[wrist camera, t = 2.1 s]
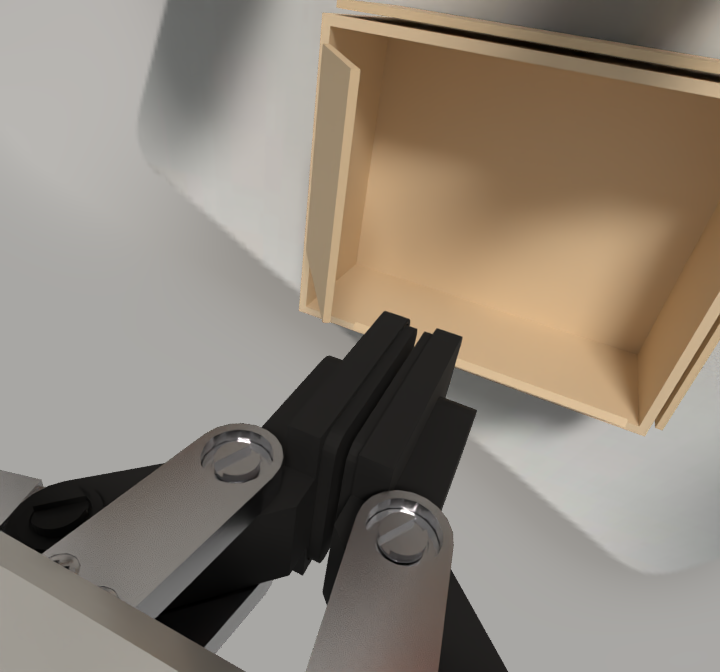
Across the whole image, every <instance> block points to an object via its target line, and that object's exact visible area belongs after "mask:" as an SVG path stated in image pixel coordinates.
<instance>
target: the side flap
mask: <svg viewBox="0 0 720 672" xmlns="http://www.w3.org/2000/svg"><path fill="white" fill-rule="evenodd" d="M369 328H370V327H369V326H366V325H363V324H361V323H358V322H355V325H354V327H353V329H354V330H357V331H359V332H362V333H364V334H365V333H366V332H367V330H368V329H369ZM415 345H416V343H415ZM415 345H414V346H415ZM455 367H456V368H459V369H462V370H464V371H467V372H470V373H473V374H475V375H478V376H481V377H484V378H486V379H489V380H492V381H495V382H497V383H500V384H503V385H506V386H508V387H511V388H514V389H517V390H519V391H522V392H525V393H528V394H530V395H533V396H536V397H539V398H541V399H544V400H547V401H550V402H552V403H555V404H558V405H561V406H563V407H566V408H569V409H572V410H574V411H577V412H580V413H583V414H585V415H588V416H591V417H594V418H597V419H600V420H603V421H606V422H609V423H612V424H615V425H618V426H621V427H624V428H625V427H626V424H627V421H628V419H626V418H623V417H620V416H618V415H615V414H612V413H609V412H606V411H604V410H601V409H598V408H595V407H593V406H590V405H587V404H584V403H581V402H579V401H576V400H573V399H570V398H567V397H565V396H562V395H559V394H556V393H553V392H551V391H548V390H545V389H542V388H539V387H537V386H534V385H531V384H528V383H525V382H523V381H520V380H517V379H514V378H511V377H509V376H506V375H503V374H500V373H497V372H495V371H492V370H489V369H486V368H484V367H481V366H478V365H475V364H472V363H470V362H467V361H464V360H461V359H458V358H457V360H456V363H455Z"/></svg>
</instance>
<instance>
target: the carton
mask: <svg viewBox="0 0 720 672" xmlns="http://www.w3.org/2000/svg"><path fill="white" fill-rule="evenodd" d="M337 8H342V9H348V10H354V11H360V12H365V13H371V14H377V15H383V16H388V17H382V16H366V15H351V14H335V13H322V25H321V38H320V50H319V63H318V76H317V88H316V101H315V114H314V126H313V139H312V152H311V164H310V177H309V190H308V202H307V215H306V228H305V240H304V253H303V266H302V278H301V291H300V303H299V311H301V312H304V313H307V314H309V315H312V316H315V317H318V318H320V319H322V318H321V313H320V309H319V305H318V300H317V296H316V292H315V287H314V283H313V279H312V274H311V270H310V265H309V261H308V257H307V252H306V242H307V230H308V218H309V206H310V193H311V181H312V169H313V157H314V144H315V132H316V120H317V108H318V95H319V83H320V71H321V59H322V46H323V43H325V44H330V45H332V46H333V47H334V48H335V49H336V50H338V51H339V52H340V53H341V54H342V55H344V56H345V57H346V58H347V59H348V60H350V61H351V62H352V63H353V64H354V65H355V66H357V67H358V68H359V69H360V78H359V87H358V95H357V103H356V112H355V120H354V128H353V137H352V145H351V153H350V162H349V170H348V178H347V187H346V195H345V203H344V212H343V220H342V228H341V237H340V245H339V253H338V262H337V270H336V278H335V287H334V295H333V303H332V312H331V320H330V322H331V323H334V324H337V325H340V326H342V327H345V328H348V329H351V330H353V331H356V332H359V331H357V330H354V329H353V327H354V325H355V322H358V323H361V324H363V325H366V326H369V327H371V326H372V324H373V323H374V322H375V321H376V320H377V319H378V317H379V316H380V315H381V314H382V313H383V312H384V311H388V312H391V313H394V314H397V315H400V316H403V317H406V318H409V319H410V326H411V327H414V328H416V329H417V337H416V341H415V343H417V342H418V340H419V339H420V337H421V336H422V334H423V333H424V332H428V333H431V334H433V333H434V331H435V330H436V328H438V329H441V330H444V331H447V332H450V333H453V334H456V335H459V336H462V337H463V338H462V343H461V346H460V350H459V353H458V357H457V358H458V359H461V360H464V361H467V362H470V363H472V364H475V365H478V366H481V367H484V368H486V369H489V370H492V371H495V372H497V373H500V374H503V375H506V376H509V377H511V378H514V379H517V380H520V381H523V382H525V383H528V384H531V385H534V386H537V387H539V388H542V389H545V390H548V391H551V392H553V393H556V394H559V395H562V396H565V397H567V398H570V399H573V400H576V401H579V402H581V403H584V404H587V405H590V406H593V407H595V408H598V409H601V410H604V411H606V412H609V413H612V414H615V415H618V416H620V417H623V418H626V419H628V421H627V424H626V427H625V428H624V427H621V426H618V425H615V424H612V423H609V422H606V421H604V422H606V423H609V424H612V425H615V426H617V427H620V428H623V429H626V430H628V431H631V432H634V433H637V434H639V435H642V436H645V435H646V434H647V432H648V430H649V429H650V427H651V425H652V424H653V422H654V420H655V428H657V429H660V430H663V429H664V427H665V426H666V424H667V422H668V421H669V419H670V418H671V416H672V415H673V413H674V411H675V410H676V408H677V407H678V405H679V403H680V402H681V400H682V399H683V397H684V396H685V394H686V392H687V391H688V389H689V388H690V386H691V384H692V383H693V381H694V380H695V378H696V377H697V375H698V373H699V372H700V370H701V369H702V367H703V365H704V364H705V362H706V361H707V359H708V358H709V356H710V354H711V353H712V351H713V350H714V348H715V346H716V345H717V343H718V342H719V340H720V75H717V74H720V59H714V58H708V57H702V56H696V55H690V54H684V53H678V52H672V51H666V50H660V49H654V48H648V47H642V46H636V45H630V44H624V43H618V42H612V41H606V40H600V39H594V38H588V37H582V36H576V35H570V34H564V33H558V32H552V31H546V30H540V29H534V28H528V27H523V26H517V25H511V24H505V23H499V22H493V21H487V20H481V19H475V18H469V17H463V16H457V15H451V14H445V13H439V12H433V11H427V10H421V9H415V8H409V7H403V6H397V5H389V4H380V3H372V2H363V1H354V0H337ZM391 17H394V18H391ZM397 18H400V19H397ZM402 19H405V20H402ZM408 20H411V21H408ZM414 21H417V22H414ZM420 22H423V23H420ZM425 23H428V24H425ZM431 24H434V25H431ZM437 25H440V26H437ZM442 26H446V27H442ZM448 27H451V28H448ZM454 28H457V29H454ZM460 29H463V30H460ZM465 30H469V31H465ZM471 31H474V32H471ZM477 32H480V33H477ZM483 33H486V34H483ZM488 34H492V35H488ZM494 35H497V36H494ZM500 36H503V37H500ZM505 37H509V38H505ZM511 38H515V39H511ZM517 39H520V40H517ZM523 40H526V41H523ZM528 41H532V42H528ZM534 42H537V43H534ZM540 43H543V44H540ZM546 44H549V45H546ZM551 45H555V46H551ZM557 46H560V47H557ZM563 47H566V48H563ZM568 48H572V49H568ZM574 49H578V50H574ZM580 50H583V51H580ZM586 51H589V52H586ZM591 52H595V53H591ZM597 53H601V54H597ZM603 54H606V55H603ZM609 55H612V56H609ZM614 56H618V57H614ZM620 57H624V58H620ZM626 58H629V59H626ZM632 59H635V60H632ZM637 60H641V61H637ZM643 61H647V62H643ZM649 62H652V63H649ZM654 63H658V64H654ZM660 64H664V65H660ZM666 65H670V66H666ZM672 66H675V67H672ZM677 67H681V68H677ZM683 68H687V69H683ZM689 69H692V70H689ZM695 70H698V71H695ZM700 71H704V72H700ZM706 72H710V73H706ZM712 73H715V74H712ZM359 333H362V332H359ZM362 334H364V333H362ZM455 368H456V367H455ZM458 369H459V368H458ZM461 370H462V369H461ZM463 371H464V370H463ZM466 372H467V371H466ZM469 373H470V372H469ZM472 374H473V373H472ZM474 375H475V374H474ZM477 376H478V375H477ZM480 377H481V376H480ZM483 378H484V377H483ZM485 379H486V378H485ZM488 380H489V379H488ZM491 381H492V380H491ZM494 382H495V381H494ZM496 383H497V382H496ZM499 384H500V383H499ZM502 385H503V384H502ZM505 386H506V385H505ZM507 387H508V386H507ZM510 388H511V387H510ZM513 389H514V388H513ZM516 390H517V389H516ZM518 391H519V390H518ZM521 392H522V391H521ZM524 393H525V392H524ZM527 394H528V393H527ZM529 395H530V394H529ZM532 396H533V395H532ZM535 397H536V396H535ZM538 398H539V397H538ZM540 399H541V398H540ZM543 400H544V399H543ZM546 401H547V400H546ZM549 402H550V401H549ZM551 403H552V402H551ZM554 404H555V403H554ZM557 405H558V404H557ZM560 406H561V405H560ZM562 407H563V406H562ZM565 408H566V407H565ZM568 409H569V408H568ZM571 410H572V409H571ZM573 411H574V410H573ZM576 412H577V411H576ZM579 413H580V412H579ZM582 414H583V413H582ZM584 415H585V414H584ZM587 416H588V415H587ZM590 417H591V416H590ZM593 418H594V417H593ZM595 419H597V418H595ZM598 420H600V419H598ZM601 421H603V420H601Z"/></svg>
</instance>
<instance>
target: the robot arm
mask: <svg viewBox="0 0 720 672" xmlns="http://www.w3.org/2000/svg"><path fill="white" fill-rule="evenodd" d="M416 337H417V329H416V328H414V327H411V326H410V319H409V318H406V317H403V316H400V315H397V314H394V313H391V312H388V311H384V312H383V313H382V314H381V315H380V316H379V317H378V319H377V320H376V321H375V322H374V323H373V324H372V326H371V327H370V328H369V329H368V330H367V332H366V333H365V334H364V335H363V336H362V338H361V339H360V340H359V341H358V342H357V343H356V345H355V346H354V347H353V348H352V349H351V351H350V352H349V353H348V354H347V355H346V357H345V358H344V359H343V360H341V359H338V358H335V357H332V356H327V357H325V358H324V359H323V360H322V361H321V362H320V363H319V364H318V365H317V366H316V368H315V369H314V370H313V371H312V372H311V373H310V374H309V375H308V376H307V378H306V379H305V380H304V381H303V382H302V383H301V384H300V385H299V386H298V388H297V389H296V390H295V391H294V392H293V393H292V394H291V395H290V396H289V398H288V399H287V400H286V401H285V402H284V403H283V404H282V405H281V406H280V408H279V409H278V410H277V411H276V412H275V413H274V414H273V415H272V416H271V417H270V419H269V420H268V421H267V422H266V423H265V424H264V425H263V426H262V427H259V426H256V425H250V424H244V423H240V424H228V425H224V426H220V427H217V428H215V429H213V430H211V431H209V432H207V433H206V434H204V435H203V436H201V437H200V438H199V439H197V440H196V441H194V442H193V443H192V444H190V445H189V446H188V447H186V448H185V449H184V450H182V451H181V452H180V453H178V454H177V455H175V456H174V457H173V458H171V459H170V460H169V461H167V462H166V463H163V464H158V465H152V466H147V467H141V468H135V469H130V470H125V471H119V472H113V473H108V474H102V475H97V476H91V477H85V478H81V479H74V480H69V481H64V482H61V483H57V484H54V485H50V486H48V487H43V484H42V481H41V479H36V478H32V477H28V476H23V475H19V474H15V473H11V472H6V471H2V470H0V672H245V671H243V670H242V669H240V668H238V667H236V666H235V665H233V664H231V663H230V662H228V661H226V660H224V659H223V658H221V657H219V656H217V655H216V654H215V653H216V652H217V651H218V650H219V649H220V647H221V646H222V645H223V644H224V643H225V642H226V640H227V639H228V638H229V637H230V636H231V634H232V633H233V632H234V631H235V629H236V628H237V627H238V626H239V625H240V624H241V623H242V621H243V620H244V619H245V618H246V617H247V615H248V614H249V613H250V612H251V611H252V609H253V608H254V607H255V606H256V605H257V604H258V602H259V601H260V600H261V599H262V598H263V596H264V595H265V594H266V592H267V591H268V589H269V587H270V586H271V584H272V581H273V580H274V579H278V578H281V577H285V576H288V575H290V573H291V572H292V570H293V571H295V572H297V573H299V574H301V575H303V574H304V572H305V571H306V569H307V567H308V565H309V564H310V562H311V560H315V561H316V562H318V563H321V561H322V560H323V559H324V557H325V556H326V554H327V552H328V550H329V549H330V552H329V557H328V564H327V569H326V575H325V580H324V587H323V595H324V598H325V601H326V604H327V608H326V611H325V614H324V617H323V620H322V623H321V626H320V629H319V632H318V635H317V639H316V642H315V644H314V648H313V651H312V654H311V657H310V660H309V663H308V666H307V669H306V672H508V671H507V669H506V667H505V666H504V664H503V662H502V660H501V658H500V656H499V655H498V653H497V651H496V649H495V647H494V646H493V644H492V642H491V640H490V638H489V637H488V635H487V633H486V632H485V629H484V628H483V626H482V624H481V622H480V620H479V619H478V617H477V615H476V614H475V612H474V610H473V608H472V606H471V604H470V602H469V601H468V599H467V597H466V595H465V594H464V592H463V590H462V588H461V586H460V585H459V583H458V581H457V579H456V577H455V576H454V574H453V572H452V570H451V563H452V554H453V546H454V544H453V531H452V529H451V526H450V524H449V522H448V519H447V518H446V517H445V515H444V514H443V513H442V508H443V505H444V502H445V500H446V497H447V494H448V491H449V488H450V486H451V483H452V480H453V478H454V475H455V472H456V469H457V466H458V464H459V461H460V458H461V455H462V453H463V450H464V447H465V444H466V441H467V438H468V435H469V433H470V430H471V427H472V424H473V421H474V418H475V415H476V412H477V410H475V409H473V408H470V407H467V406H464V405H462V404H459V403H456V402H454V401H451V400H448V399H446V398H445V397H446V394H447V390H448V387H449V384H450V380H451V377H452V373H453V370H454V367H455V363H456V360H457V357H458V353H459V350H460V346H461V343H462V338H463V337H462V336H459V335H456V334H453V333H450V332H447V331H444V330H441V329H438V328H436V330H435V331H434V333H433V334H431V333H428V332H424V333H423V334H422V336H421V337H420V339H419V340H418V342H417V343H416V345H415V341H416ZM414 345H415V346H414Z"/></svg>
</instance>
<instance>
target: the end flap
mask: <svg viewBox="0 0 720 672" xmlns="http://www.w3.org/2000/svg"><path fill="white" fill-rule="evenodd" d="M359 78H360V69H359V68H358V67H357V66H355V65H354V64H353V63H352V62H351V61H350V60H348V59H347V58H346V57H345V56H344V55H342V54H341V53H340V52H339V51H338V50H336V49H335V48H334V47H333V46H332V45H330V44H325V43H323V46H322V59H321V71H320V83H319V95H318V108H317V120H316V132H315V144H314V157H313V169H312V181H311V193H310V206H309V218H308V230H307V242H306V252H307V257H308V261H309V265H310V270H311V274H312V279H313V283H314V287H315V292H316V296H317V300H318V305H319V309H320V313H321V318H322V322H323V323H330V320H331V312H332V303H333V295H334V287H335V278H336V270H337V262H338V253H339V245H340V237H341V228H342V220H343V212H344V203H345V195H346V187H347V178H348V170H349V162H350V153H351V145H352V137H353V128H354V120H355V112H356V103H357V95H358V87H359Z"/></svg>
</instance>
